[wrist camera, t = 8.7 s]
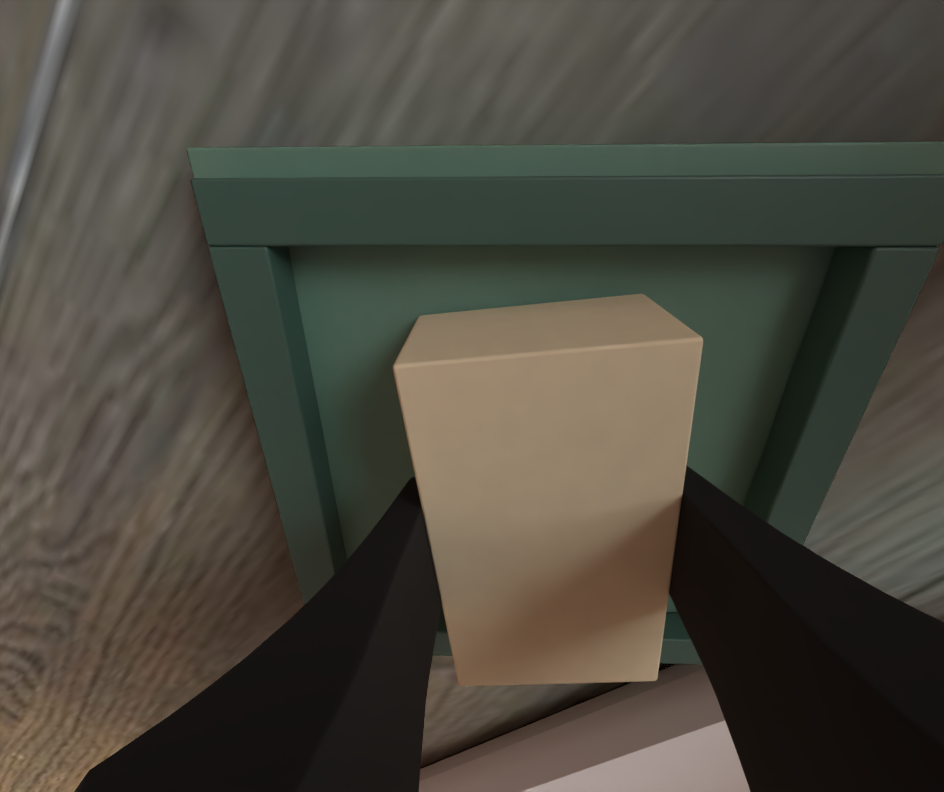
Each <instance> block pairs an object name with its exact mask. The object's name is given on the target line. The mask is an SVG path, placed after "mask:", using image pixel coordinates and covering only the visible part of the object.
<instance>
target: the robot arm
mask: <svg viewBox="0 0 944 792" xmlns="http://www.w3.org/2000/svg"><path fill="white" fill-rule="evenodd" d="M669 594H670V597H671V599H672V601H673V603H674V605H675V607H676V609H677V611H678V614H679V616H680V618H681V620H682V622H683V624H684V626H685V628H686V630H687V633H688V635H689V637H690V639H691V641H692V643H693V645H694V647H695V650H696V652H697V654H698V656H699V658H700V660H701V662H702V664H703V666H704V669H705V671H706V673H707V676H708V678H709V680H710V683H711V685H712V687H713V690H714V692H715V694H716V697H717V700H718V702H719V705H720V708H721V711H722V713H723V716H724V719H725V722H726V724H727V727H728V730H729V732H730V735H731V738H732V741H733V743H734V746H735V749H736V752H737V754H738V757H739V760H740V763H741V766H742V769H743V772H744V774H745V777H746V780H747V783H748V786H749V789H750V792H944V622H942V621H940V620H938V619H936V618H934V617H932V616H930V615H928V614H925V613H923V612H921V611H919V610H917V609H915V608H913V607H911V606H909V605H907V604H905V603H903V602H902V601H900V600H898V599H896V598H894V597H892V596H890V595H888V594H886V593H884V592H882V591H881V590H879V589H877V588H875V587H873V586H871V585H870V584H868V583H866V582H864V581H862V580H861V579H859V578H857V577H855V576H853V575H852V574H850V573H848V572H846V571H844V570H843V569H841V568H839V567H837V566H836V565H834V564H832V563H830V562H829V561H827V560H825V559H824V558H822V557H820V556H819V555H817V554H815V553H814V552H812V551H811V550H809V549H807V548H806V547H804V546H803V545H801V544H799V543H798V542H796V541H795V540H793V539H792V538H790V537H788V536H787V535H785V534H784V533H782V532H780V531H779V530H777V529H776V528H774V527H773V526H771V525H770V524H768V523H767V522H765V521H764V520H762V519H761V518H760V517H758V516H757V515H755V514H754V513H752V512H751V511H749V510H748V509H747V508H745V507H744V506H742V505H741V504H739V503H738V502H737V501H735V500H734V499H732V498H731V497H730V496H728V495H727V494H725V493H724V492H723V491H721V490H720V489H719V488H717V487H716V486H714V485H713V484H712V483H710V482H709V481H708V480H706V479H705V478H703V477H702V476H701V475H699V474H698V473H697V472H695V471H694V470H692V469H691V468H690V467H688V466H687V465H686V472H685V479H684V487H683V494H682V501H681V509H680V516H679V523H678V531H677V538H676V546H675V553H674V560H673V568H672V575H671V582H670V590H669ZM441 604H442V602H441V597H440V592H439V587H438V583H437V578H436V573H435V568H434V563H433V559H432V554H431V549H430V544H429V539H428V535H427V530H426V525H425V520H424V515H423V511H422V507H421V502H420V497H419V492H418V487H417V483H416V478H415V477H411V478H410V480H409V481H408V482H407V483H406V485H405V486H404V487H403V489H402V490H401V491H400V493H399V494H398V496H397V497H396V498H395V500H394V501H393V503H392V504H391V505H390V507H389V508H388V509H387V511H386V512H385V513H384V515H383V516H382V518H381V519H380V520H379V521H378V523H377V524H376V525H375V526H374V528H373V529H372V530H371V532H370V533H369V534H368V535H367V537H366V538H365V539H364V541H363V542H362V543H361V544H360V545H359V547H358V548H357V549H356V550H355V551H354V552H353V554H352V555H351V556H350V557H349V558H348V559H347V560H346V562H345V563H344V564H343V565H342V566H341V567H340V569H339V570H338V571H337V572H336V573H335V574H334V575H333V576H332V578H331V579H330V580H329V581H328V582H327V583H326V584H325V585H324V586H323V587H322V588H321V589H320V590H319V591H318V592H317V593H316V594H315V595H314V596H313V597H312V598H311V599H310V600H309V601H308V602H307V603H306V604H305V605H304V606H303V607H302V608H301V609H300V610H299V611H298V612H297V613H296V614H295V615H294V616H293V617H292V618H291V619H289V620H288V621H287V622H286V623H285V624H284V625H283V626H282V627H280V628H279V629H278V630H277V631H276V632H275V633H273V634H272V635H271V636H270V637H269V638H268V639H267V640H265V641H264V642H263V643H262V644H261V645H260V646H259V647H257V648H256V649H255V650H254V651H253V652H252V653H251V654H249V655H248V656H247V657H246V658H245V659H243V660H242V661H241V662H240V663H238V664H237V665H236V666H235V667H233V668H232V669H231V670H230V671H228V672H227V673H226V674H224V675H223V676H222V677H221V678H219V679H218V680H217V681H216V682H214V683H213V684H212V685H210V686H209V687H208V688H206V689H205V690H204V691H202V692H201V693H200V694H198V695H197V696H196V697H194V698H193V699H192V700H190V701H189V702H188V703H186V704H185V705H184V706H182V707H181V708H179V709H178V710H177V711H175V712H174V713H173V714H171V715H170V716H168V717H167V718H165V719H164V720H163V721H161V722H160V723H158V724H157V725H155V726H154V727H152V728H151V729H150V730H148V731H147V732H145V733H144V734H142V735H141V736H139V737H138V738H136V739H135V740H134V741H132V742H131V743H129V744H128V745H126V746H125V747H123V748H122V749H120V750H119V751H118V752H116V753H115V754H113V755H112V756H110V757H109V758H107V759H106V760H104V761H103V762H101V763H100V764H98V765H97V766H95V767H94V768H92V769H91V770H89V772H88V773H87V775H86V776H85V777H84V779H83V780H82V781H81V783H80V784H79V786H78V787H77V789H76V790H75V792H419V780H420V766H421V753H422V741H423V729H424V717H425V705H426V696H427V688H428V680H429V674H430V668H431V662H432V656H433V651H434V645H435V639H436V633H437V627H438V622H439V616H440V610H441Z"/></svg>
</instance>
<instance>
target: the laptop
mask: <svg viewBox="0 0 944 792" xmlns="http://www.w3.org/2000/svg"><path fill="white" fill-rule="evenodd" d="M419 792H750V789H749V786H748V783H747V780H746V777H745V774H744V772H743V769H742V766H741V763H740V760H739V757H738V754H737V752H736V749H735V746H734V743H733V741H732V738H731V735H730V732H729V730H728V727H727V724H726V722H725V719H724V716H723V713H722V711H721V708H720V705H719V702H718V700H717V697H716V694H715V692H714V690H713V687H712V685H711V683H710V680H709V678H708V676H707V673H706V671H705V669H704V666H703V665H698V664H676V665H673V666H671V667H668V668H666V669H663V670H661V671H659V672H658V678H657V680H656V681H642V682H632V683H629V684H627V685H624V686H622V687H620V688H617V689H615V690H612V691H610V692H607V693H605V694H602V695H600V696H598V697H595V698H593V699H590V700H588V701H585V702H583V703H580V704H578V705H576V706H573V707H571V708H568V709H566V710H563V711H561V712H559V713H556V714H554V715H551V716H549V717H546V718H544V719H541V720H539V721H537V722H534V723H532V724H529V725H527V726H524V727H522V728H519V729H517V730H515V731H512V732H510V733H507V734H505V735H502V736H500V737H498V738H495V739H493V740H490V741H488V742H485V743H483V744H480V745H478V746H476V747H473V748H471V749H468V750H466V751H463V752H461V753H458V754H456V755H454V756H451V757H449V758H446V759H444V760H441V761H439V762H437V763H434V764H432V765H429V766H427V767H424V768H422V769H420V780H419Z"/></svg>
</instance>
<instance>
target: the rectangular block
mask: <svg viewBox="0 0 944 792" xmlns="http://www.w3.org/2000/svg"><path fill="white" fill-rule="evenodd" d="M702 347H703V339H702V337H701V336H700V335H698V334H697V333H696V332H694V331H693V330H692V329H690V328H689V327H687V326H686V325H685V324H683V323H682V322H681V321H679V320H678V319H677V318H675V317H674V316H673V315H671V314H670V313H669V312H667V311H666V310H664V309H663V308H662V307H660V306H659V305H658V304H656V303H655V302H654V301H652V300H651V299H650V298H648V297H647V296H646V295H644V294H632V295H622V296H612V297H602V298H592V299H581V300H571V301H561V302H551V303H541V304H531V305H521V306H510V307H500V308H490V309H480V310H470V311H460V312H450V313H439V314H429V315H421V316H419V317H418V319H417V321H416V323H415V324H414V326H413V328H412V330H411V332H410V334H409V336H408V338H407V340H406V342H405V344H404V345H403V347H402V349H401V351H400V353H399V355H398V357H397V359H396V361H395V363H394V365H393V372H394V377H395V382H396V387H397V391H398V396H399V401H400V406H401V411H402V415H403V420H404V425H405V430H406V435H407V439H408V444H409V449H410V454H411V459H412V463H413V468H414V473H415V478H416V483H417V487H418V492H419V497H420V502H421V507H422V511H423V515H424V520H425V525H426V530H427V535H428V539H429V544H430V549H431V554H432V559H433V563H434V568H435V573H436V578H437V583H438V587H439V592H440V597H441V602H442V607H443V612H444V617H445V622H446V627H447V631H448V636H449V641H450V646H451V651H452V655H453V660H454V665H455V670H456V675H457V679H458V684H459V686H489V685H527V684H565V683H604V682H642V681H656V680H657V678H658V670H659V663H660V656H661V648H662V641H663V634H664V626H665V619H666V612H667V604H668V597H669V590H670V582H671V575H672V568H673V560H674V553H675V546H676V538H677V531H678V523H679V516H680V509H681V501H682V494H683V487H684V479H685V472H686V465H687V457H688V450H689V443H690V435H691V428H692V421H693V413H694V406H695V398H696V391H697V384H698V376H699V369H700V362H701V354H702Z"/></svg>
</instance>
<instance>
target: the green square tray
mask: <svg viewBox="0 0 944 792" xmlns="http://www.w3.org/2000/svg"><path fill="white" fill-rule="evenodd" d="M187 154H188V158H189V162H190V166H191V169H192V173H193V177H194V178H193V179H191V185H192V189H193V192H194V196H195V200H196V204H197V207H198V211H199V215H200V219H201V222H202V226H203V230H204V234H205V237H206V241H207V244H208V245H210V246H211V247H209V253H210V257H211V261H212V264H213V268H214V272H215V276H216V279H217V283H218V287H219V290H220V294H221V298H222V302H223V305H224V309H225V313H226V317H227V320H228V324H229V328H230V332H231V335H232V339H233V343H234V347H235V350H236V354H237V358H238V361H239V365H240V369H241V373H242V376H243V380H244V384H245V388H246V391H247V395H248V399H249V403H250V406H251V410H252V414H253V417H254V421H255V425H256V429H257V432H258V436H259V440H260V444H261V447H262V451H263V455H264V459H265V462H266V466H267V470H268V473H269V477H270V481H271V485H272V488H273V492H274V496H275V500H276V503H277V507H278V511H279V515H280V518H281V522H282V526H283V529H284V533H285V537H286V541H287V544H288V548H289V552H290V556H291V559H292V563H293V567H294V571H295V574H296V578H297V582H298V585H299V589H300V593H301V597H302V600H303V604H304V605H305V604H306V603H307V602H308V601H309V600H310V599H311V598H312V597H313V596H314V595H315V594H316V593H317V592H318V591H319V590H320V589H321V588H322V587H323V586H324V585H325V584H326V583H327V582H328V581H329V580H330V579H331V578H332V576H333V575H334V574H335V573H336V572H337V571H338V570H339V569H340V567H341V566H342V565H343V564H344V563H345V562H346V560H347V559H348V558H349V557H350V556H351V555H352V554H353V552H354V551H355V550H356V549H357V548H358V547H359V545H360V544H361V543H362V542H363V541H364V539H365V538H366V537H367V535H368V534H369V533H370V532H371V530H372V529H373V528H374V526H375V525H376V524H377V523H378V521H379V520H380V519H381V518H382V516H383V515H384V513H385V512H386V511H387V509H388V508H389V507H390V505H391V504H392V503H393V501H394V500H395V498H396V497H397V496H398V494H399V493H400V491H401V490H402V489H403V487H404V486H405V485H406V483H407V482H408V481H409V480H410V478H411V477H415V473H414V468H413V463H412V459H411V454H410V449H409V444H408V439H407V435H406V430H405V425H404V420H403V415H402V411H401V406H400V401H399V396H398V391H397V387H396V382H395V377H394V372H393V365H394V363H395V361H396V359H397V357H398V355H399V353H400V351H401V349H402V347H403V345H404V344H405V342H406V340H407V338H408V336H409V334H410V332H411V330H412V328H413V326H414V324H415V323H416V321H417V319H418V317H419V316H421V315H429V314H439V313H450V312H460V311H470V310H480V309H490V308H500V307H510V306H521V305H531V304H541V303H551V302H561V301H571V300H581V299H592V298H602V297H612V296H622V295H632V294H644V295H646V296H647V297H648V298H650V299H651V300H652V301H654V302H655V303H656V304H658V305H659V306H660V307H662V308H663V309H664V310H666V311H667V312H669V313H670V314H671V315H673V316H674V317H675V318H677V319H678V320H679V321H681V322H682V323H683V324H685V325H686V326H687V327H689V328H690V329H692V330H693V331H694V332H696V333H697V334H698V335H700V336H701V337H702V339H703V347H702V354H701V362H700V369H699V376H698V384H697V391H696V398H695V406H694V413H693V421H692V428H691V435H690V443H689V450H688V457H687V466H688V467H690V468H691V469H692V470H694V471H695V472H697V473H698V474H699V475H701V476H702V477H703V478H705V479H706V480H708V481H709V482H710V483H712V484H713V485H714V486H716V487H717V488H719V489H720V490H721V491H723V492H724V493H725V494H727V495H728V496H730V497H731V498H732V499H734V500H735V501H737V502H738V503H739V504H741V505H742V506H744V507H745V508H747V509H748V510H749V511H751V512H752V513H754V514H755V515H757V516H758V517H760V518H761V519H762V520H764V521H765V522H767V523H768V524H770V525H771V526H773V527H774V528H776V529H777V530H779V531H780V532H782V533H784V534H785V535H787V536H788V537H790V538H792V539H793V540H795V541H796V542H798V543H799V544H801V545H803V544H804V541H805V539H806V537H807V535H808V533H809V531H810V528H811V526H812V524H813V522H814V520H815V518H816V515H817V513H818V511H819V509H820V507H821V505H822V502H823V500H824V498H825V496H826V494H827V492H828V490H829V487H830V485H831V483H832V481H833V479H834V477H835V474H836V472H837V470H838V468H839V466H840V464H841V461H842V459H843V457H844V455H845V453H846V451H847V448H848V446H849V444H850V442H851V440H852V438H853V435H854V433H855V431H856V429H857V427H858V425H859V423H860V420H861V418H862V416H863V414H864V412H865V410H866V407H867V405H868V403H869V401H870V399H871V397H872V394H873V392H874V390H875V388H876V386H877V384H878V381H879V379H880V377H881V375H882V373H883V371H884V368H885V366H886V364H887V362H888V360H889V358H890V356H891V353H892V351H893V349H894V347H895V345H896V343H897V340H898V338H899V336H900V334H901V332H902V330H903V327H904V325H905V323H906V321H907V319H908V317H909V314H910V312H911V310H912V308H913V306H914V304H915V301H916V299H917V297H918V295H919V293H920V291H921V289H922V286H923V284H924V282H925V280H926V278H927V276H928V273H929V271H930V269H931V267H932V265H933V263H934V260H935V258H936V256H937V254H938V252H939V248H937V247H936V246H940V245H941V244H942V243H943V242H944V142H823V143H702V144H581V145H459V146H338V147H217V148H188V149H187ZM433 655H441V656H453V655H452V651H451V646H450V641H449V636H448V631H447V627H446V622H445V617H444V612H443V607H442V604H441V610H440V616H439V622H438V627H437V633H436V639H435V645H434V651H433ZM660 663H669V664H698V665H703V664H702V662H701V660H700V658H699V656H698V654H697V652H696V650H695V647H694V645H693V643H692V641H691V639H690V637H689V635H688V633H687V630H686V628H685V626H684V624H683V622H682V620H681V618H680V616H679V614H678V611H677V609H676V607H675V605H674V603H673V601H672V599H671V597H670V594H669V597H668V604H667V612H666V619H665V626H664V634H663V641H662V648H661V656H660Z"/></svg>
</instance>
